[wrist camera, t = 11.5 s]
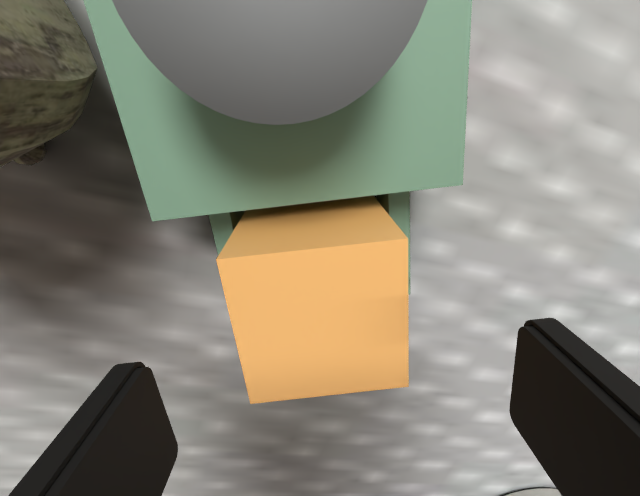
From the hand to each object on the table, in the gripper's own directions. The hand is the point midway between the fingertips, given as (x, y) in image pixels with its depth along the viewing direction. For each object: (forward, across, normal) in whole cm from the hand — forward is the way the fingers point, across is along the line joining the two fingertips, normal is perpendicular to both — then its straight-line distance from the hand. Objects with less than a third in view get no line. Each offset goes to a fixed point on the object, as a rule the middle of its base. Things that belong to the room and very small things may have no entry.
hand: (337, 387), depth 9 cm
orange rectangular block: (+12, 0, -1) cm, 12 cm away
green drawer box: (+12, +1, -6) cm, 13 cm away
